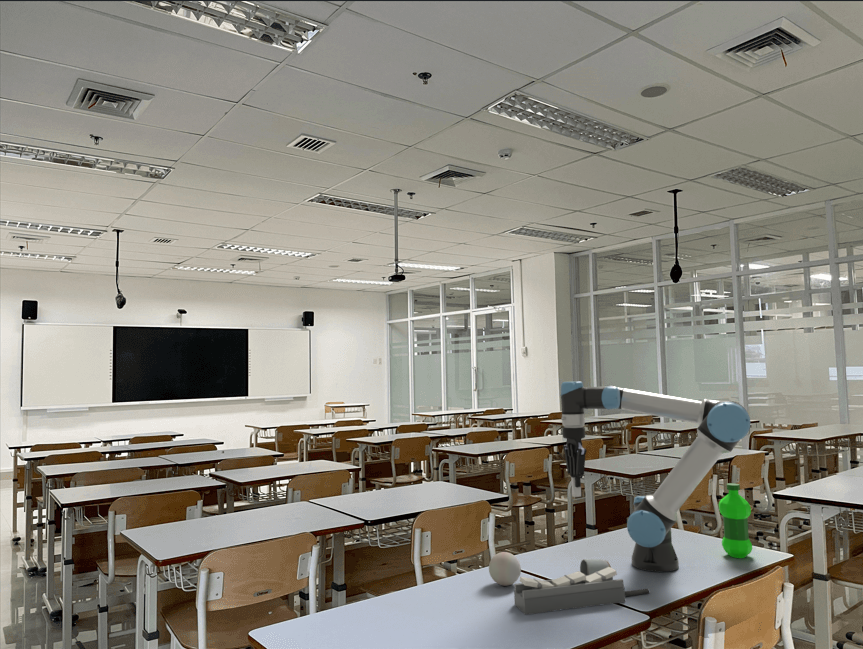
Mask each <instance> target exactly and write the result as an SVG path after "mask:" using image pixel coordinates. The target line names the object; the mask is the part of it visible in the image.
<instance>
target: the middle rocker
mask: <svg viewBox="0 0 863 649" xmlns="http://www.w3.org/2000/svg"><path fill="white" fill-rule="evenodd" d="M553 579H554V580H553ZM553 579H551V580H552V584H553V585H554V586H555V587H557V586H566V585H573V584H574V583H577V582H580V581H583V580H585V579H586V576H585V575H584V574H583V573H581V572H580V570H579V571H575V572H571V573H569V574H567V575H566V574H564V575H563V576H561V577H560V576H559V577H557V578H553Z"/></svg>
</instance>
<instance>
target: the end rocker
mask: <svg viewBox="0 0 863 649" xmlns="http://www.w3.org/2000/svg"><path fill="white" fill-rule="evenodd" d="M519 582H520V583H523V584H524V585H526V586H531V587H537V588H549V587H554V585H552V584H551V583H550V582H547V581H544V580H541V579H536V578H529V577H525V576H524V577H523V576H519Z"/></svg>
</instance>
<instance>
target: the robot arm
mask: <svg viewBox="0 0 863 649" xmlns="http://www.w3.org/2000/svg"><path fill="white" fill-rule="evenodd" d="M560 402H561V418H560V419H561V423H562V426H563V427H562V428H561V430H562V438H563V439H565V440H566V444H564V445H563V446H562V449H563V450H564V459H565V463H566V472H567V474H568V475H569V476H570V479H571V482H570V483H571V497H572V498H578V497H581V498H582V484H581V482H582V480H581V478H582V477H584V476H585V467H586V466H585V465H586V454H587V448H584V447H583V441H582V440H583V439H585V438H586V428H585V427H584V426H585V422H586V421H585V410H608V411H609V410H615V409H616V410H617V409H618V410H624V411H630V412H634V413H640V414H645V415H650V416H656V417H660V418H667V419H670V420H671V419H672V420H677V421H682V422H687V423H693V424H697V425H698V427H697V428H696V432H697V437H696V438H695V439H694V440H693V442H692V443H691V444H690V446H689V447H688V448H687V450H686V451H685V452H684V453H683V455H682V456H681V458H679V460H678V462H676V464H675V465H674V467H673V468H672V469H671V470H670V472H669V473H668V474H667V476H666V477H665V478H664V480H663V481H662V483H661V484H660V485H659V487H658V488H657V489H656V490H655V492H654V493H652V494H646V495H641V496H639V495H637V496H635V497H634V499H633V507H634V508H633V509H634V510H633V512H632V513H631V514H630V515H629V516H628V519H627V521H626V522H627V523H626V529H627V532H628V535H629V537H630V538H631V540H632V541H633V542H634V543H635V544H634V547H633V551H632V555H631V565H632V566H633V567H635V568H637V569H638V570H639V569H640V570H643V571H647V572H653V573H654V572H656V573H664V572H665V573H666V572H673V571H675V570H677V569H679V566H680V564H679V558H678V556H677V553H676V551H675V548H674V545H673V540H672V539H673V538H672V528H673V526H674V524H675V523H676V522H677V521H678V519H679V518H678V511H680V509H681V507H682V506H683V505H684V504H685V503H686V501H687V499H688V498H689V497H690V496H691V495H692V493H693V492H694V491H695V489H696V488H697V487H698V486H699V485H700V483H701V481H703V479H704V478H705V477H706V475H707V474H708V473H709V472H710V470H711V469H712V468H713V467H714V465H715V464H716V463H717V461H718V460H719V459H720V458H721V456H722V455H723V454H727V453H731V452H732V451H733V449H735V447H736V446H737V445H738V443H739V442H741V440H742V439H744V438H745V437H746V436H747V435H748V434H749V432H750V429H751V418H750V415H749V413H748V411H747V410H746V409H745V407H744V406H743V405H742V404H741V403H739V402H736V401H732V400H717V399H714V400H713V399H707V398H704V399H702V400H695V399H690V398H683V397H677V396H673V395H665V394H661V393H653V392H648V391H642V390H636V389H630V388H623V387H619V386H615V385H613V384H611V385H610V384H607V385H603V386H584V384H583V382H582V381H563V382H562V383H561V384H560Z"/></svg>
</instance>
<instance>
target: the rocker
mask: <svg viewBox="0 0 863 649" xmlns="http://www.w3.org/2000/svg"><path fill="white" fill-rule="evenodd" d="M617 575H618V573H617V570H616V569H614V568H612V567H607V568H605V569H603V570H600V571H598V572H595V573H593V574H591V575H588V576H586V579H585V580H584V582H585V583H591V582H600V581H605V580H606V579H608V578H611V577H613V578H614V577H615V576H617Z"/></svg>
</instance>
